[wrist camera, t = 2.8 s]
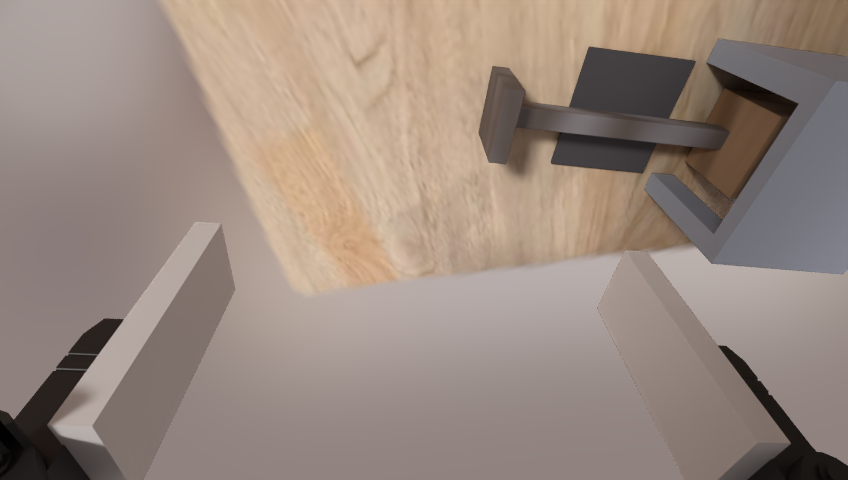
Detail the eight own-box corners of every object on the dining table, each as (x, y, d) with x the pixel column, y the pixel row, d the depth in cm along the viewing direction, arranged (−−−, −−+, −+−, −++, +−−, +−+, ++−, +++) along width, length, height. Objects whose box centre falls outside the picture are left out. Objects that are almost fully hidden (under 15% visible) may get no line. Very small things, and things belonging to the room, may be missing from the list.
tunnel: (644, 189, 37) (711, 263, 29) (718, 38, 30) (836, 80, 22) (748, 199, 38) (842, 274, 30) (844, 56, 31) (1003, 102, 23)
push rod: (477, 138, 33) (489, 174, 28) (494, 58, 30) (510, 83, 25) (751, 168, 36) (805, 206, 31) (796, 97, 32) (865, 127, 27)
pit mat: (550, 162, 35) (551, 163, 35) (589, 46, 30) (590, 47, 30) (641, 171, 36) (642, 173, 36) (694, 60, 31) (695, 61, 30)
